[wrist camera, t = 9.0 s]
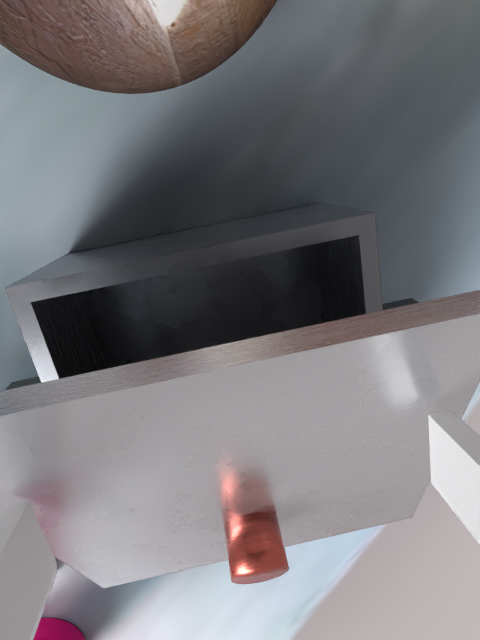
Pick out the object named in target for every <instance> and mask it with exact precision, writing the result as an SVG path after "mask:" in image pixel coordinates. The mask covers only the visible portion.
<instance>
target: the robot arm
mask: <svg viewBox="0 0 480 640" xmlns="http://www.w3.org/2000/svg"><path fill="white" fill-rule="evenodd" d="M428 420H429V444H430V469H431V483H432V484H433V485H434V487H435V488H436V489H437V490H438V492H439V493H440V494H441V496H442V497H443V498H444V500H445V501H446V502H447V503H448V504H449V506H450V507H451V508H452V510H453V511H454V512H455V514H456V515H457V516H458V517H459V519H460V520H461V521H462V523H463V524H464V525H465V526H466V528H467V529H468V530H469V531H470V533H471V534H472V535H473V537H474V538H475V539H476V541H477V542H478V543H479V544H480V436H479V435H478V434H477V433H476V432H475V431H474V430H473V429H472V428H471V427H469V426H468V425H467V424H466V423H465V422H464V421H463V420H462V419H460V418H459V417H458V416H457V415H456V414H455V413H454V412H453V411H451V410H448V411H443V412H439V413H434V414H429V415H428ZM56 567H57V563H56V561H55V558H54V556H53V554H52V551H51V549H50V547H49V544H48V542H47V540H46V537H45V535H44V533H43V530H42V528H41V526H40V524H39V521H38V519H37V517H36V514H35V512H34V510H33V507H32V505H31V503H30V500H29V501H25V502H20V503H15V504H11V505H6V506H5V507H4V509H3V511H2V512H1V514H0V640H29V639H30V636H31V633H32V631H33V628H34V625H35V623H36V620H37V617H38V615H39V612H40V609H41V607H42V604H43V601H44V599H45V596H46V593H47V591H48V588H49V585H50V583H51V580H52V577H53V575H54V572H55V569H56Z"/></svg>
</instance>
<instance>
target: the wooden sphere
mask: <svg viewBox="0 0 480 640" xmlns="http://www.w3.org/2000/svg"><path fill="white" fill-rule="evenodd" d="M276 1H277V0H0V44H1V45H3V46H4V47H5V48H7V49H8V50H10V51H11V52H12V53H14V54H16V55H17V56H19V57H20V58H22V59H23V60H25V61H27V62H28V63H30V64H32V65H33V66H35V67H37V68H39V69H41V70H43V71H45V72H47V73H49V74H51V75H53V76H55V77H58V78H60V79H63V80H65V81H68V82H70V83H73V84H76V85H80V86H83V87H86V88H90V89H94V90H99V91H105V92H112V93H126V94H138V93H150V92H157V91H163V90H167V89H171V88H175V87H178V86H181V85H184V84H186V83H189V82H191V81H193V80H196V79H198V78H200V77H202V76H203V75H205V74H207V73H209V72H210V71H212V70H214V69H215V68H217V67H218V66H219V65H221V64H222V63H224V62H225V61H226V60H227V59H229V58H230V57H231V56H232V55H233V54H235V53H236V52H237V51H238V50H239V49H240V48H241V47H242V46H243V45H244V44H245V43H246V42H247V41H248V40H249V39H250V37H251V36H252V35H253V34H254V33H255V31H256V30H257V29H258V28H259V27H260V25H261V24H262V22H263V21H264V20H265V18H266V17H267V15H268V14H269V12H270V11H271V9H272V8H273V6H274V4H275V3H276Z"/></svg>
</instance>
